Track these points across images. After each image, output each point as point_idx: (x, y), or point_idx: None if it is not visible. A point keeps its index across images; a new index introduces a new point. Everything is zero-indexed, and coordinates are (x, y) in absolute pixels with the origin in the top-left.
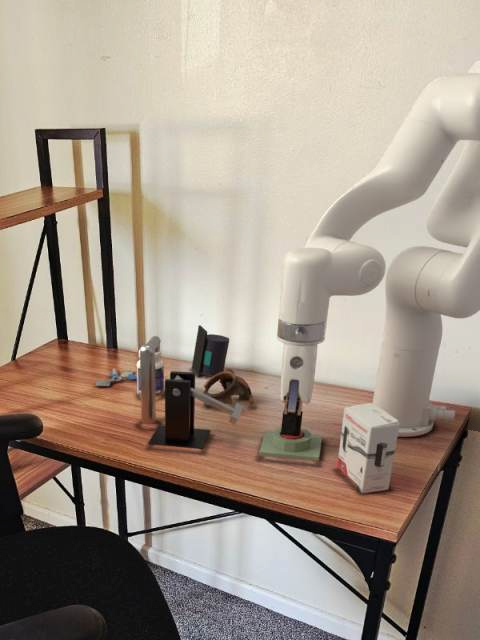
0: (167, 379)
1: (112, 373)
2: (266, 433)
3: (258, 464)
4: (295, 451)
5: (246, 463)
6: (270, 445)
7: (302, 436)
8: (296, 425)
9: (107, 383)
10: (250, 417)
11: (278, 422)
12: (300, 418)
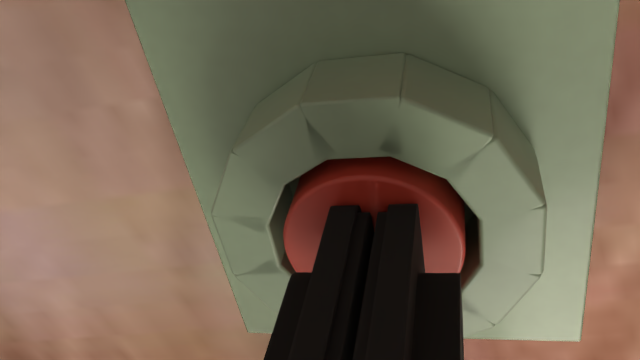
0: None
1: None
2: None
3: (624, 288)
4: (531, 147)
5: (617, 338)
6: None
7: (369, 164)
8: (416, 305)
9: None
10: (60, 357)
11: (24, 252)
12: (404, 352)
